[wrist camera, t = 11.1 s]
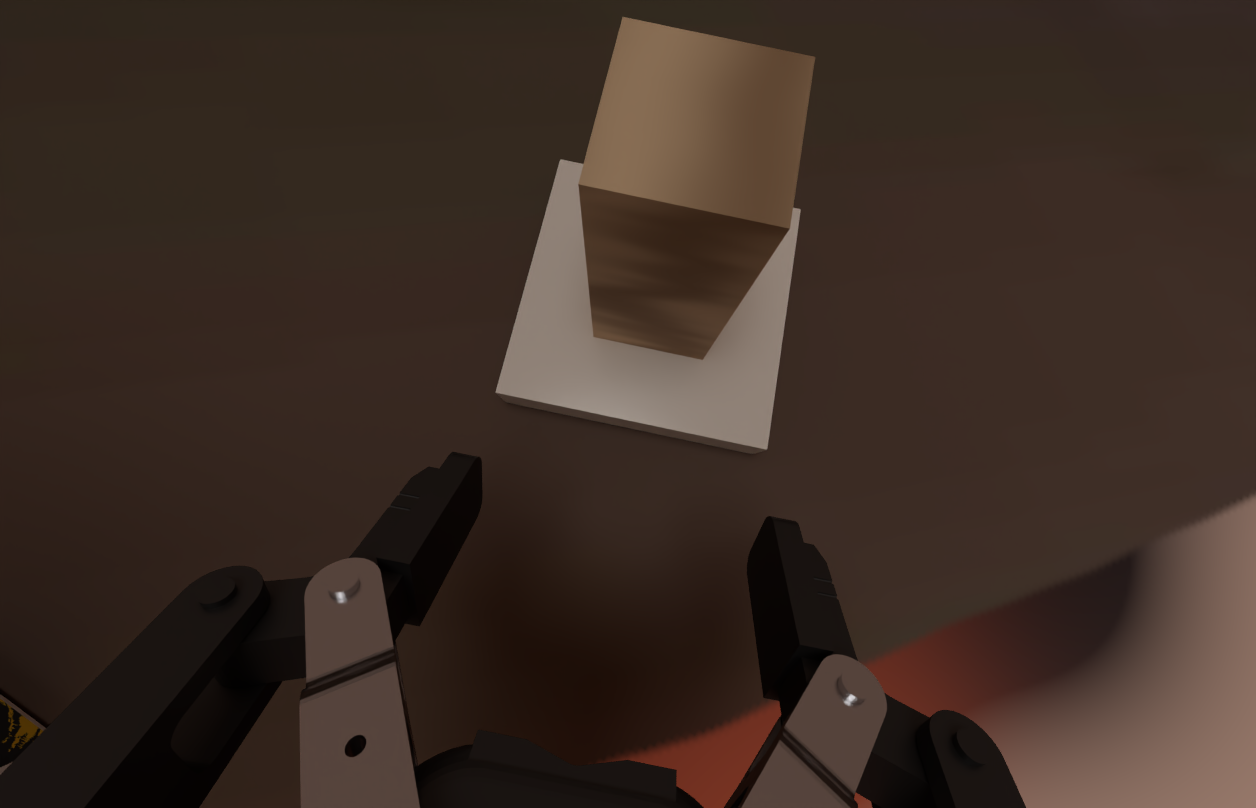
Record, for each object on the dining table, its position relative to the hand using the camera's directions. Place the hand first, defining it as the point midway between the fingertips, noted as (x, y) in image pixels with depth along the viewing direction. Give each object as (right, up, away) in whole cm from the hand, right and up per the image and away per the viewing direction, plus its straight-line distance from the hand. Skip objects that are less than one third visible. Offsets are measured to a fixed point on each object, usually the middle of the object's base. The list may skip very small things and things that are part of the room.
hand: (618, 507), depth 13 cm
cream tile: (+1, +7, +10) cm, 13 cm away
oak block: (+2, +8, +8) cm, 11 cm away
